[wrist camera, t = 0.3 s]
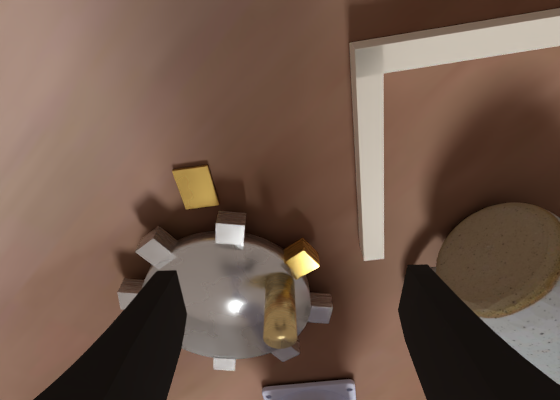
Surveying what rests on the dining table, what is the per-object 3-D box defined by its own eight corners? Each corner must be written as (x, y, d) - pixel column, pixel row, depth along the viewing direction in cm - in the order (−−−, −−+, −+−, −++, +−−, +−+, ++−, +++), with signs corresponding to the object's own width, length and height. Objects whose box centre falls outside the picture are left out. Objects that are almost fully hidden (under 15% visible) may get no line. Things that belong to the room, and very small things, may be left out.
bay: (625, 213, 22) (645, 228, 21) (359, 244, 24) (364, 260, 22) (725, -20, 16) (764, -18, 14) (349, 42, 17) (354, 49, 16)
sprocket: (336, 346, 28) (347, 417, 24) (164, 363, 29) (144, 433, 25) (319, 197, 21) (330, 260, 17) (89, 227, 22) (43, 293, 18)
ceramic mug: (513, 169, 21) (615, 266, 14) (585, 241, 23) (697, 349, 17) (372, 273, 25) (402, 382, 19) (446, 323, 28) (494, 432, 22)
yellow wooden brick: (266, 305, 27) (266, 311, 26) (207, 312, 27) (206, 318, 27) (229, 161, 20) (228, 166, 20) (152, 172, 21) (149, 177, 20)
